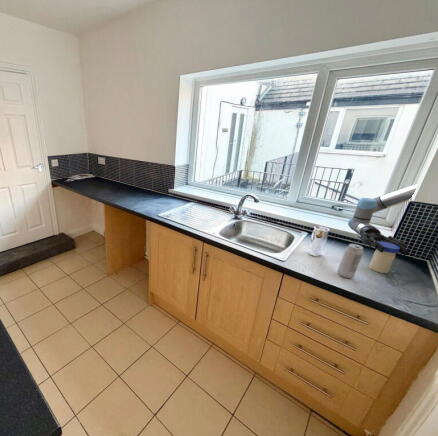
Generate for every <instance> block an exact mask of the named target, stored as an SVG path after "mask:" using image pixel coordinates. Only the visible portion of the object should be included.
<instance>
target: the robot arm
mask: <svg viewBox="0 0 438 436" xmlns="http://www.w3.org/2000/svg"><path fill="white" fill-rule="evenodd" d="M417 183H418V182H415V183H413V184H410V185H408V186H404V187H402V188H399V189H396V190H394V191H391V192H388V193H386V194H382V195H380V196H377V197H374V198H371V197H361V198H359V199H358V202H357V203H356V208H355V210H354V214H353V217H351V218H349V220H348V221H347V225H348V227H349V229H351V231H354V232H355V233H356V234H358V235H357V238H358V239H360V240H361V241H362V243H363V244H364V245H368V248H369V247H370V248H374V249H375V250H376V249H377V250H378V251H380V252H383V250H384V246H382V245H381V244H380V243H378V242H388V243H392V244H395V245H397V246H399V247H400V251H399V252H398V253H400V254H402V255H403V256H407V254H408V252H409V249H407V248H406V247H405V246H406V243H404V242H403V241H401V240H399V239H396V238H394V237H393V236H392V235H388V236H386V235H384V234H382V232H381V231H380V230H379V229H378V228H377V227H376V226H374V225H372V224H371V220H372V217H373V214H376V213H377V212H380V211H383V210H386V209H389V208H393V207H395V206H398V205H402V204H405V203H407V201H408V200H409V199H410V198H411V197H412V195H413V194H414V192H415V190H416V187H417ZM408 202H409V201H408Z"/></svg>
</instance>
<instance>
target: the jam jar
mask: <svg viewBox="0 0 438 436" xmlns="http://www.w3.org/2000/svg"><path fill="white" fill-rule="evenodd" d="M396 254H397V253H389V252H385V251H383V252H380V251H378V250H377V249H376V248H375V250H374V252H373V254H372V257H371V260H370V262H369V265H368V268H369V269H371V270H373V271H374V272H377V273H381V274H389V273H390V271H391V268H392V266H393V263H394V261H395V259H396Z"/></svg>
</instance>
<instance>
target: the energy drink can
mask: <svg viewBox="0 0 438 436" xmlns="http://www.w3.org/2000/svg"><path fill="white" fill-rule="evenodd" d="M364 252H365V251H364V247H363V246H362V245H360V244H356V243H349V244H348V246H346V247H345V250H344V253H343V256H342V258H341V261H340V263H339V266H338V269H337V273H338V275H339V276H341V277H343V278H346V279H352V278H353V277H355V274H356V272H357V269H358V268H359V265H360V262H361V260H362V257H363V255H364Z"/></svg>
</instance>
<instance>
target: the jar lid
mask: <svg viewBox="0 0 438 436" xmlns="http://www.w3.org/2000/svg"><path fill="white" fill-rule="evenodd" d="M377 242H378V241H377ZM378 243H380V244H381V245H382V246H384V250H383V251H385V252H389V253H396V254H399V253H400V252H399V251H400V247H399V246H397V245H395V244H392V243H388V242H378Z"/></svg>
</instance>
